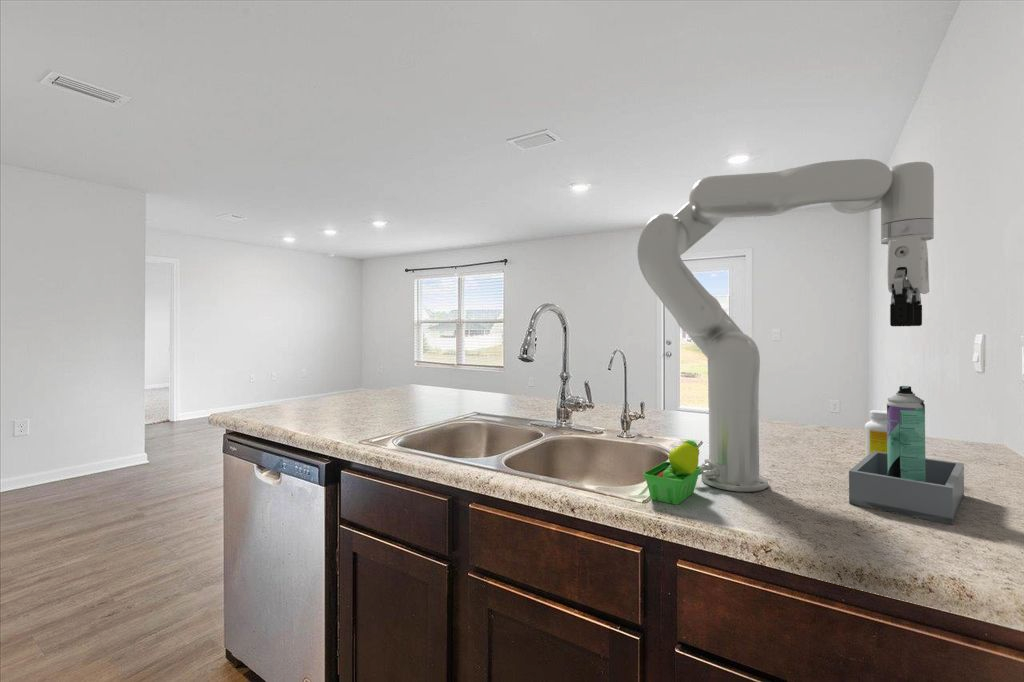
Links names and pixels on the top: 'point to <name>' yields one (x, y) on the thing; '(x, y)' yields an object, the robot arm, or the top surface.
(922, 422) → the spray can
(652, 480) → the fruit basket
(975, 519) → the top surface
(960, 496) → the bin
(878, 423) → the supplement bottle
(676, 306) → the robot arm
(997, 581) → the top surface
